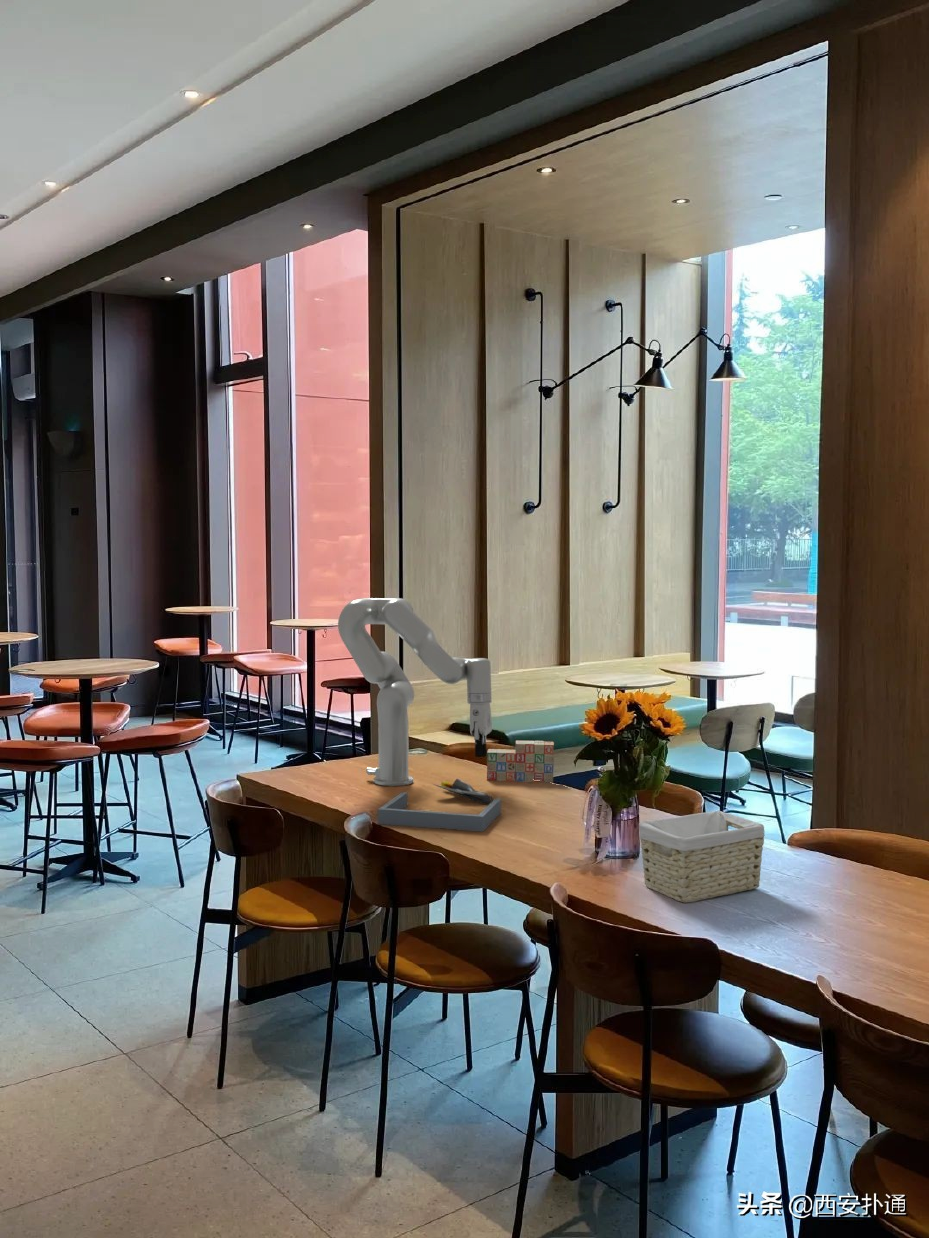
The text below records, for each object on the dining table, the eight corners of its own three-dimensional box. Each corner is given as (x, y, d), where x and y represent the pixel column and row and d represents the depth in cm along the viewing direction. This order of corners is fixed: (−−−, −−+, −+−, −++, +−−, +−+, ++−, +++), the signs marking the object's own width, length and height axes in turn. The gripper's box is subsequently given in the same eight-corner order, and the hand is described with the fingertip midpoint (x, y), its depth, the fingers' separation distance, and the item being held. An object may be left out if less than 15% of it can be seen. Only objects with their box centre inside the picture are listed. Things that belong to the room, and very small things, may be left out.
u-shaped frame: (377, 823, 296) (377, 809, 296) (402, 805, 317) (402, 791, 317) (482, 831, 289) (482, 816, 288) (501, 812, 309) (501, 798, 309)
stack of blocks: (486, 780, 351) (486, 742, 351) (487, 776, 358) (488, 739, 357) (553, 782, 350) (553, 744, 349) (553, 778, 356) (554, 740, 355)
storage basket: (680, 907, 230) (682, 837, 229) (634, 885, 244) (635, 820, 243) (767, 890, 241) (768, 824, 240) (717, 871, 255) (719, 808, 254)
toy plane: (418, 787, 332) (422, 770, 332) (461, 793, 342) (465, 776, 342) (467, 807, 312) (471, 788, 312) (512, 813, 322) (516, 795, 322)
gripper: (485, 701, 333) (486, 761, 335) (496, 694, 348) (498, 752, 349) (461, 701, 335) (463, 760, 336) (473, 694, 350) (475, 751, 351)
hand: (480, 756), depth 343 cm, fingers closed
